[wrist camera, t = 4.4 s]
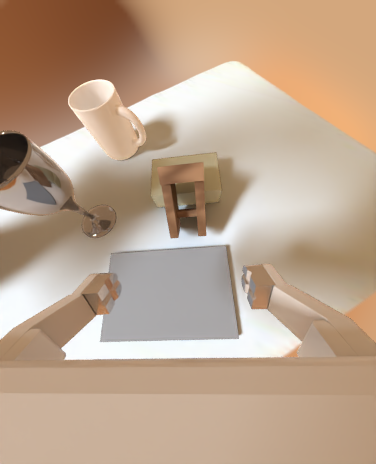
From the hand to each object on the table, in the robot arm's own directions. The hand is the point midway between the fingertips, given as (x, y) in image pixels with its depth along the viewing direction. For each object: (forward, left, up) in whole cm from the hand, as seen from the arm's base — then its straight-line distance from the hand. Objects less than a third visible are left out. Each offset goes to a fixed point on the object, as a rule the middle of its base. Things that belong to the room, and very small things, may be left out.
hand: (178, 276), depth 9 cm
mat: (-4, -2, -14) cm, 15 cm away
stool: (0, +11, -14) cm, 18 cm away
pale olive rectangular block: (0, +17, -14) cm, 22 cm away
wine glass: (-18, +12, -15) cm, 26 cm away
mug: (-13, +30, -15) cm, 35 cm away
